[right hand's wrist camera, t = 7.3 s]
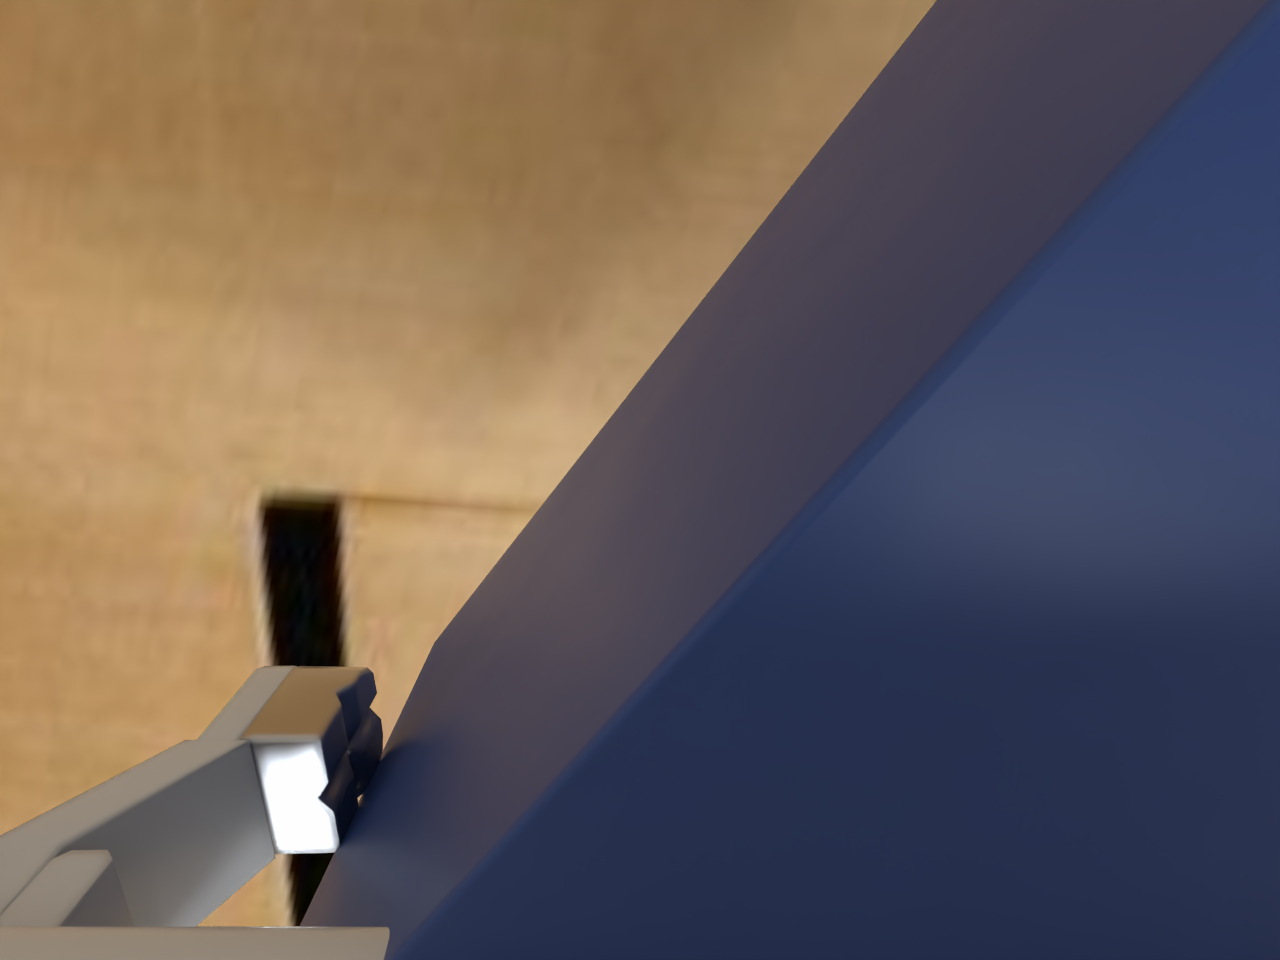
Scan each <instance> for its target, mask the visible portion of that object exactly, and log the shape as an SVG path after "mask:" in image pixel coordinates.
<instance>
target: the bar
mask: <svg viewBox="0 0 1280 960" xmlns="http://www.w3.org/2000/svg"><path fill="white" fill-rule="evenodd" d="M358 806H359V807H358V810H357V812H356V814H355V816H354V818H353V820H352V822H351V824H350V827H349V829H348V831H347V833H346V835H345V837H344V839H343V841H342V843H341V846H340V847H339V848H338V850H337V851H336V852H335V853H334V855H333V858H332V860H331V862H330V864H329V866H328V868H327V870H326V872H325V874H324V876H323V879H322V881H321V883H320V885H319V887H318V889H317V891H316V893H315V895H314V898H313V900H312V902H311V904H310V906H309V908H308V910H307V912H306V914H305V917H304V919H303V921H302V923H301V925H300V927H388V928H389V931H390V934H389V940H388V944H387V948H386V953H385V957H384V960H1280V0H937V1H936V2H935V4H934V5H933V6H932V7H931V9H930V10H929V11H928V12H927V14H926V15H925V16H924V18H923V19H922V20H921V21H920V23H919V24H918V25H917V27H916V28H915V29H914V30H913V32H912V33H911V34H910V35H909V37H908V38H907V39H906V41H905V42H904V43H903V44H902V46H901V47H900V48H899V50H898V51H897V52H896V53H895V55H894V56H893V57H892V58H891V60H890V61H889V62H888V64H887V65H886V66H885V67H884V69H883V70H882V71H881V73H880V74H879V75H878V76H877V78H876V79H875V80H874V82H873V83H872V84H871V85H870V87H869V88H868V89H867V90H866V92H865V93H864V94H863V96H862V97H861V98H860V99H859V101H858V102H857V103H856V105H855V106H854V107H853V108H852V110H851V111H850V112H849V113H848V115H847V116H846V117H845V119H844V120H843V121H842V122H841V124H840V125H839V126H838V128H837V129H836V130H835V131H834V133H833V134H832V135H831V136H830V138H829V139H828V140H827V142H826V143H825V144H824V145H823V147H822V148H821V149H820V151H819V152H818V153H817V154H816V156H815V157H814V158H813V160H812V161H811V162H810V163H809V165H808V166H807V167H806V168H805V170H804V171H803V172H802V174H801V175H800V176H799V177H798V179H797V180H796V181H795V183H794V184H793V185H792V186H791V188H790V189H789V190H788V191H787V193H786V194H785V195H784V197H783V198H782V199H781V200H780V202H779V203H778V204H777V206H776V207H775V208H774V209H773V211H772V212H771V213H770V214H769V216H768V217H767V218H766V220H765V221H764V222H763V223H762V225H761V226H760V227H759V229H758V230H757V231H756V232H755V234H754V235H753V236H752V237H751V239H750V240H749V241H748V243H747V244H746V245H745V246H744V248H743V249H742V250H741V252H740V253H739V254H738V255H737V257H736V258H735V259H734V261H733V262H732V263H731V264H730V266H729V267H728V268H727V269H726V271H725V272H724V273H723V275H722V276H721V277H720V278H719V280H718V281H717V282H716V284H715V285H714V286H713V287H712V289H711V290H710V291H709V292H708V294H707V295H706V296H705V298H704V299H703V300H702V301H701V303H700V304H699V305H698V307H697V308H696V309H695V310H694V312H693V313H692V314H691V315H690V317H689V318H688V319H687V321H686V322H685V323H684V324H683V326H682V327H681V328H680V330H679V331H678V332H677V333H676V335H675V336H674V337H673V339H672V340H671V341H670V342H669V344H668V345H667V346H666V347H665V349H664V350H663V351H662V353H661V354H660V355H659V356H658V358H657V359H656V360H655V362H654V363H653V364H652V365H651V367H650V368H649V369H648V370H647V372H646V373H645V374H644V376H643V377H642V378H641V379H640V381H639V382H638V383H637V385H636V386H635V387H634V388H633V390H632V391H631V392H630V393H629V395H628V396H627V397H626V399H625V400H624V401H623V402H622V404H621V405H620V406H619V408H618V409H617V410H616V411H615V413H614V414H613V415H612V416H611V418H610V419H609V420H608V422H607V423H606V424H605V425H604V427H603V428H602V429H601V431H600V432H599V433H598V434H597V436H596V437H595V438H594V440H593V441H592V442H591V443H590V445H589V446H588V447H587V448H586V450H585V451H584V452H583V454H582V455H581V456H580V457H579V459H578V460H577V461H576V463H575V464H574V465H573V466H572V468H571V469H570V470H569V471H568V473H567V474H566V475H565V477H564V478H563V479H562V480H561V482H560V483H559V484H558V486H557V487H556V488H555V489H554V491H553V492H552V493H551V494H550V496H549V497H548V498H547V500H546V501H545V502H544V503H543V505H542V506H541V507H540V509H539V510H538V511H537V512H536V514H535V515H534V516H533V518H532V519H531V520H530V521H529V523H528V524H527V525H526V526H525V528H524V529H523V530H522V532H521V533H520V534H519V535H518V537H517V538H516V539H515V541H514V542H513V543H512V544H511V546H510V547H509V548H508V549H507V551H506V552H505V553H504V555H503V556H502V557H501V558H500V560H499V561H498V562H497V564H496V565H495V566H494V567H493V569H492V570H491V571H490V572H489V574H488V575H487V576H486V578H485V579H484V580H483V581H482V583H481V584H480V585H479V587H478V588H477V589H476V590H475V592H474V593H473V594H472V595H471V597H470V598H469V599H468V601H467V602H466V603H465V604H464V606H463V607H462V608H461V610H460V611H459V612H458V613H457V615H456V616H455V617H454V619H453V620H452V621H451V622H450V624H449V625H448V626H447V627H446V629H445V630H444V631H443V633H442V634H441V635H440V636H439V638H438V639H437V640H436V642H435V643H434V645H433V647H432V649H431V651H430V653H429V655H428V657H427V660H426V662H425V664H424V666H423V668H422V670H421V672H420V674H419V676H418V678H417V681H416V683H415V685H414V687H413V689H412V691H411V693H410V695H409V697H408V700H407V702H406V704H405V706H404V708H403V710H402V712H401V714H400V716H399V719H398V721H397V723H396V725H395V727H394V729H393V731H392V733H391V735H390V737H389V740H388V742H387V744H386V746H385V748H384V750H383V752H382V755H381V760H380V763H379V765H378V767H377V769H376V771H375V773H374V776H373V778H372V780H371V782H370V784H369V785H368V787H367V788H366V790H365V791H364V793H363V794H362V796H361V799H360V801H359V803H358Z"/></svg>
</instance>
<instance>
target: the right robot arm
mask: <svg viewBox="0 0 1280 960" xmlns="http://www.w3.org/2000/svg"><path fill="white" fill-rule="evenodd" d="M376 694H377V691H376V685H375V680H374V675H373V673H372V672H371V671H370V670H369V669H368V668H365V667H318V666H299V667H296V666H264V667H261V668H258V669H256V670H255V671H254V672H253V673H252V675H251V676H250V677H249V678H248V679H247V681H246V682H245V683H244V684H243V685H242V687H241V688H240V689H239V690H238V691H237V692H236V694H235V695H234V696H233V697H232V698H231V700H230V701H229V702H228V703H227V704H226V706H225V707H224V708H223V709H222V710H221V712H220V713H219V714H218V715H217V716H216V718H215V719H214V720H213V721H212V722H211V723H210V725H209V726H208V727H207V728H206V729H205V731H204V732H203V733H202V734H201V735H200V737H199V738H198V739H197V740H184V741H182V742H181V743H179V744H177V745H175V746H173V747H171V748H169V749H167V750H165V751H163V752H161V753H159V754H157V755H155V756H153V757H152V758H150V759H148V760H146V761H144V762H142V763H140V764H138V765H136V766H134V767H132V768H130V769H128V770H126V771H124V772H123V773H121V774H119V775H117V776H115V777H113V778H111V779H109V780H107V781H105V782H103V783H101V784H99V785H97V786H95V787H94V788H92V789H90V790H88V791H86V792H84V793H82V794H80V795H78V796H76V797H74V798H72V799H70V800H68V801H66V802H65V803H63V804H61V805H59V806H57V807H55V808H53V809H51V810H49V811H47V812H45V813H43V814H41V815H39V816H37V817H36V818H34V819H32V820H30V821H28V822H26V823H24V824H22V825H20V826H18V827H16V828H14V829H12V830H10V831H8V832H7V833H5V834H3V835H1V836H0V960H384V957H385V953H386V948H387V944H388V940H389V934H390V931H389V928H388V927H196V926H197V925H198V924H199V923H200V922H202V921H203V920H204V919H205V918H206V917H207V916H209V915H210V914H211V913H212V912H213V911H214V910H216V909H217V908H218V907H219V906H220V905H221V904H222V903H224V902H225V901H226V900H227V899H228V898H229V897H231V896H232V895H233V894H234V893H235V892H236V891H237V890H239V889H240V888H241V887H242V886H243V885H244V884H246V883H247V882H248V881H249V880H250V879H251V878H253V877H254V876H255V875H256V874H257V873H258V872H259V871H261V870H262V869H263V868H264V867H265V866H266V865H268V864H269V863H270V862H271V861H272V860H273V859H274V858H275V854H298V853H332V852H336V851H337V850H338V848H339V847H340V846H341V843H342V841H343V839H344V837H345V835H346V833H347V831H348V829H349V827H350V824H351V822H352V820H353V818H354V816H355V814H356V812H357V810H358V807H359V806H358V799H357V798H358V797H359V796H360V795H362V794H363V793H364V791H365V790H366V788H367V787H368V785H369V784H370V782H371V780H372V778H373V776H374V773H375V771H376V769H377V767H378V765H379V763H380V760H381V755H382V751H383V732H382V724H381V719H380V718H379V717H378V716H377V715H376V714H375V713H374V712H373V711H372V710H371V709H370V708H369V707H370V705H371V703H372V701H373V699H374V698H375V696H376Z"/></svg>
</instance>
